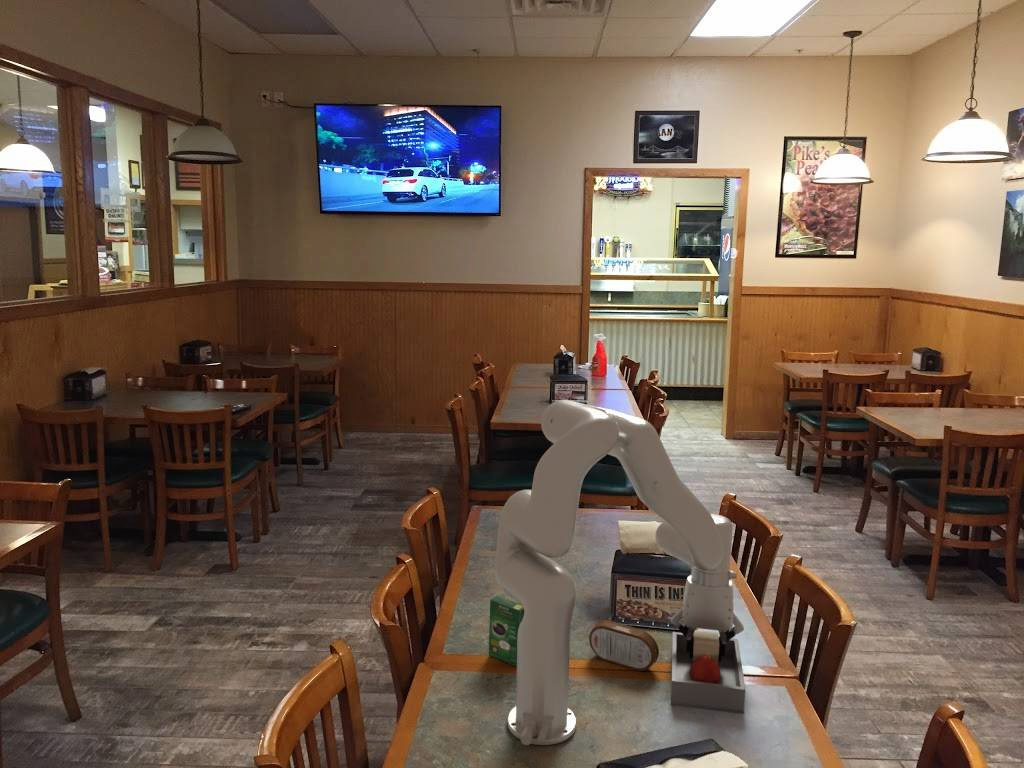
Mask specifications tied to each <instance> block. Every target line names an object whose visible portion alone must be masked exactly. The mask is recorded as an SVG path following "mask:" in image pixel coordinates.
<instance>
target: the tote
mask: <svg viewBox="0 0 1024 768" xmlns="http://www.w3.org/2000/svg"><path fill="white" fill-rule="evenodd" d="M718 638H719V636H718ZM671 639H672V640H671V657H670V658H671V660H670V661H671V666H670V667H671V668H670V705H673V706H681V707H689V708H697V709H705V710H713V711H718V712H720V711H721V712H728V713H733V714H734V713H736V714H742V715H744V713H745V700H746V699H745V698H746V685H745V678H744V677H745V676H744V669H743V664H742V656H741V650H740V645H739V644H740V643H739V639H738V638H734V637H733V638H732V639H730V640H729V641H727V644H725V656H721V662H718V666H719V669H720V673H721V676H720V680H719V682H718V684H713V683H705V682H697V681H693V680H692V679H691V677H690V669H691V665H692V663H693V658H689V652H686V644H687V639H686V637H685V636H684V635H683V634H682V633H681V632H678V631H677V632H676V631H672V637H671Z"/></svg>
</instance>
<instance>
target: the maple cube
mask: <svg viewBox="0 0 1024 768" xmlns="http://www.w3.org/2000/svg"><path fill="white" fill-rule="evenodd" d="M693 635H694V649H693V662H694V661H695V660H696V659H697V658H699V657H700V656H703V655H705V654H706V653H708V654H709V656H710V658H712V659H713V660H714V661H715V662H716V663H717V664H718V656H719V638H718V637H719V632H717V631H706V630H696V629H695V631H694V634H693Z"/></svg>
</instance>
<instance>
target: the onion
mask: <svg viewBox="0 0 1024 768" xmlns="http://www.w3.org/2000/svg"><path fill="white" fill-rule="evenodd" d="M720 676H721V673H720V669H719V666H718V664H717V663H716V662H715V661H714V660H713V659H712V658H710V656H709V654H708V653H706V654H705V655H703V656H700V657H699V658H697V659H696V660H695V661H694V662H693V663H692V665H691V669H690V677H691V679H692V680H693V681H697V682H705V683H713V684H718V682H719V680H720Z"/></svg>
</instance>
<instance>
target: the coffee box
mask: <svg viewBox="0 0 1024 768" xmlns="http://www.w3.org/2000/svg"><path fill="white" fill-rule="evenodd" d="M523 617H524V608H523V606H522V605H521V604H520V603H518V602H517V601H513V600H510V599H507V598H505V597H502V596H499V595H496V596H494V597H492V598H491V599H490V600H489V627H488V630H489V631H488V634H489V635H488V656H489V657H492V658H494V659H497V660H499V661H502V662H504V663H506V662H507V663H506V664H509V665H511V666H514V667H516V668H517V635H518V629H519V626H520V623H521V621H522V619H523Z"/></svg>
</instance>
